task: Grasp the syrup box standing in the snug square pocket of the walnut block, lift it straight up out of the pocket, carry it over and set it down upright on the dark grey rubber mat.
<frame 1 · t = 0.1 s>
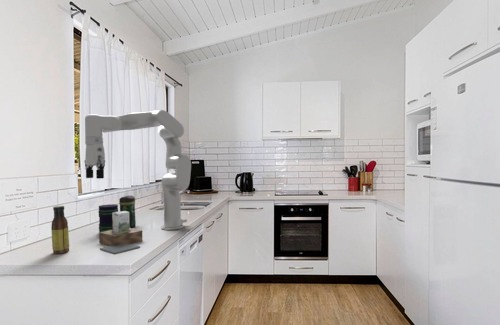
hand: (94, 178, 149), 31 cm above the countertop, tool pointing down, fingers open, 9 cm apart
syrup box: (121, 242, 154), resting in pocket block
pocket block: (121, 241, 154), on the countertop
coffee jar: (127, 227, 189), on the countertop
sauce bottle: (60, 252, 137), on the countertop
mat: (120, 248, 141), on the countertop
storage jar: (108, 233, 174), on the countertop
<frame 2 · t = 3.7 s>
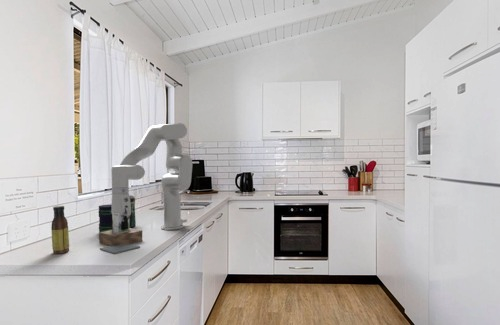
hand: (120, 228, 154), 7 cm above the countertop, tool pointing down, fingers closed on syrup box, 5 cm apart
syrup box: (121, 242, 154), resting in pocket block, touching gripper
everything else where it was.
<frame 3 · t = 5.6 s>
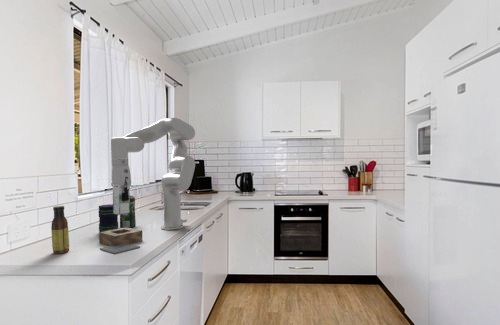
hand: (121, 199, 154), 20 cm above the countertop, tool pointing down, fingers closed on syrup box, 5 cm apart
syrup box: (121, 213, 154), point 13 cm above the countertop, touching gripper
everything else where it was.
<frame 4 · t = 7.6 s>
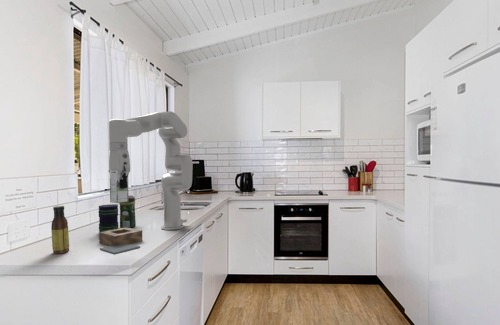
hand: (119, 187, 141), 27 cm above the countertop, tool pointing down, fingers closed on syrup box, 5 cm apart
syrup box: (119, 202, 141), point 20 cm above the countertop, touching gripper
everything else where it was.
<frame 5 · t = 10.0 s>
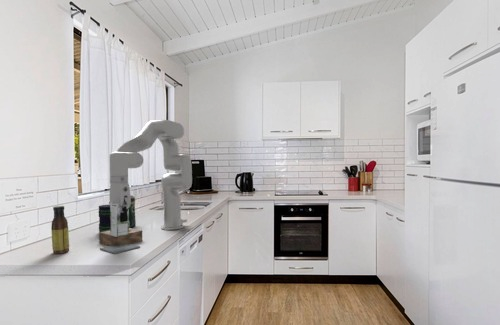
hand: (119, 220, 141), 13 cm above the countertop, tool pointing down, fingers closed on syrup box, 5 cm apart
syrup box: (119, 235, 141), point 6 cm above the countertop, touching gripper
everything else where it was.
when the fingers open (8 cm above the countertop, at t = 11.9 s): syrup box drops 1 cm, resting on mat.
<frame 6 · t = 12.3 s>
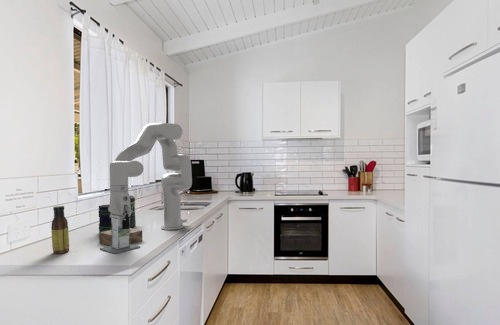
hand: (119, 227, 141), 9 cm above the countertop, tool pointing down, fingers open, 9 cm apart
syrup box: (121, 247, 141), resting on mat
everything else where it was.
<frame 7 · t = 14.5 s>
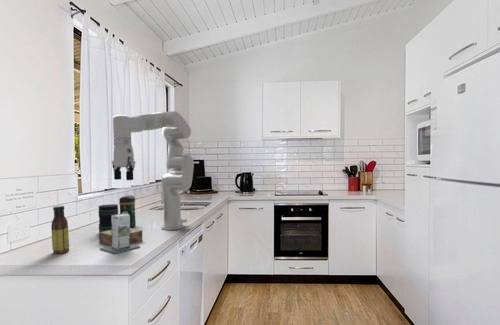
hand: (123, 179, 147), 30 cm above the countertop, tool pointing down, fingers open, 9 cm apart
nothing on the countertop moved.
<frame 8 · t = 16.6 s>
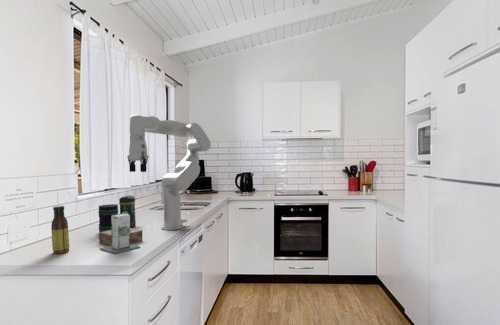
hand: (137, 171, 167), 33 cm above the countertop, tool pointing down, fingers open, 9 cm apart
nothing on the countertop moved.
at the end: syrup box inside the target area on the mat (0.4 cm from its centre), point 0.4 cm above the mat's base; syrup box tilted 0°; syrup box touching mat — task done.
